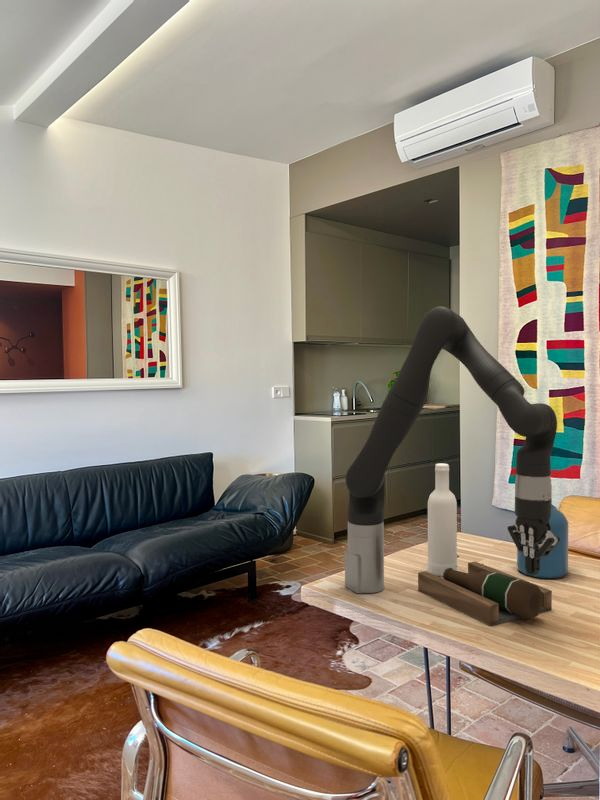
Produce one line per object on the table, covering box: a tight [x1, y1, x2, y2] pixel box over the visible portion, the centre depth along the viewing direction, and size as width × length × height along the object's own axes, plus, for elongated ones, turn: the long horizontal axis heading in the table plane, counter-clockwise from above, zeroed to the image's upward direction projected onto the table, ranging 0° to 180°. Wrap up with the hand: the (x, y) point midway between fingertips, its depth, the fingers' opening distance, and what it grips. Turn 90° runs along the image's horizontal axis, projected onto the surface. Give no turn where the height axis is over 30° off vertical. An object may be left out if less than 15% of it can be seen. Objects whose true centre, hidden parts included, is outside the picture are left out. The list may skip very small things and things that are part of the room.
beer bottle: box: [442, 568, 543, 620], centre depth 144 cm, size 8×8×24 cm
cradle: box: [417, 561, 553, 627], centre depth 148 cm, size 19×25×4 cm
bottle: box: [427, 462, 458, 577], centre depth 168 cm, size 8×8×30 cm
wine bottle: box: [516, 504, 569, 579], centre depth 168 cm, size 14×13×30 cm
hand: (532, 573), depth 134 cm, fingers closed
